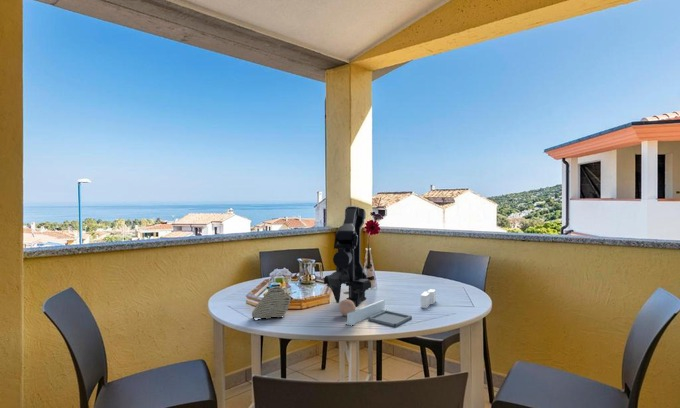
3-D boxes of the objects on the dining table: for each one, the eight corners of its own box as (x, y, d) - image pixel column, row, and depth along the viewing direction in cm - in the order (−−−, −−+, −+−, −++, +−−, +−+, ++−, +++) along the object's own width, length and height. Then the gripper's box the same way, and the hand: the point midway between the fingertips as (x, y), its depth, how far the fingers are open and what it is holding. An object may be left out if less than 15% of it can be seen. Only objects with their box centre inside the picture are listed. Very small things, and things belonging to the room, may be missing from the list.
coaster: (368, 320, 126) (368, 317, 126) (385, 312, 135) (385, 310, 135) (395, 327, 119) (395, 324, 119) (411, 318, 128) (411, 315, 128)
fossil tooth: (252, 320, 133) (291, 311, 138) (254, 324, 127) (294, 315, 132) (248, 289, 133) (287, 282, 138) (250, 292, 127) (291, 284, 132)
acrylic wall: (344, 324, 123) (344, 313, 123) (380, 309, 139) (380, 299, 139) (351, 326, 121) (351, 314, 121) (386, 310, 137) (386, 300, 137)
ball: (335, 316, 132) (335, 300, 132) (346, 312, 136) (345, 296, 136) (348, 319, 128) (348, 302, 128) (358, 315, 133) (358, 299, 133)
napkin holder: (424, 311, 138) (424, 296, 138) (406, 304, 148) (406, 290, 148) (453, 306, 144) (453, 292, 144) (435, 299, 154) (435, 286, 154)
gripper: (313, 263, 132) (314, 305, 132) (352, 269, 120) (353, 315, 120) (333, 259, 141) (333, 299, 141) (371, 264, 129) (372, 307, 129)
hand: (347, 304), depth 132 cm, fingers open, 9 cm apart
